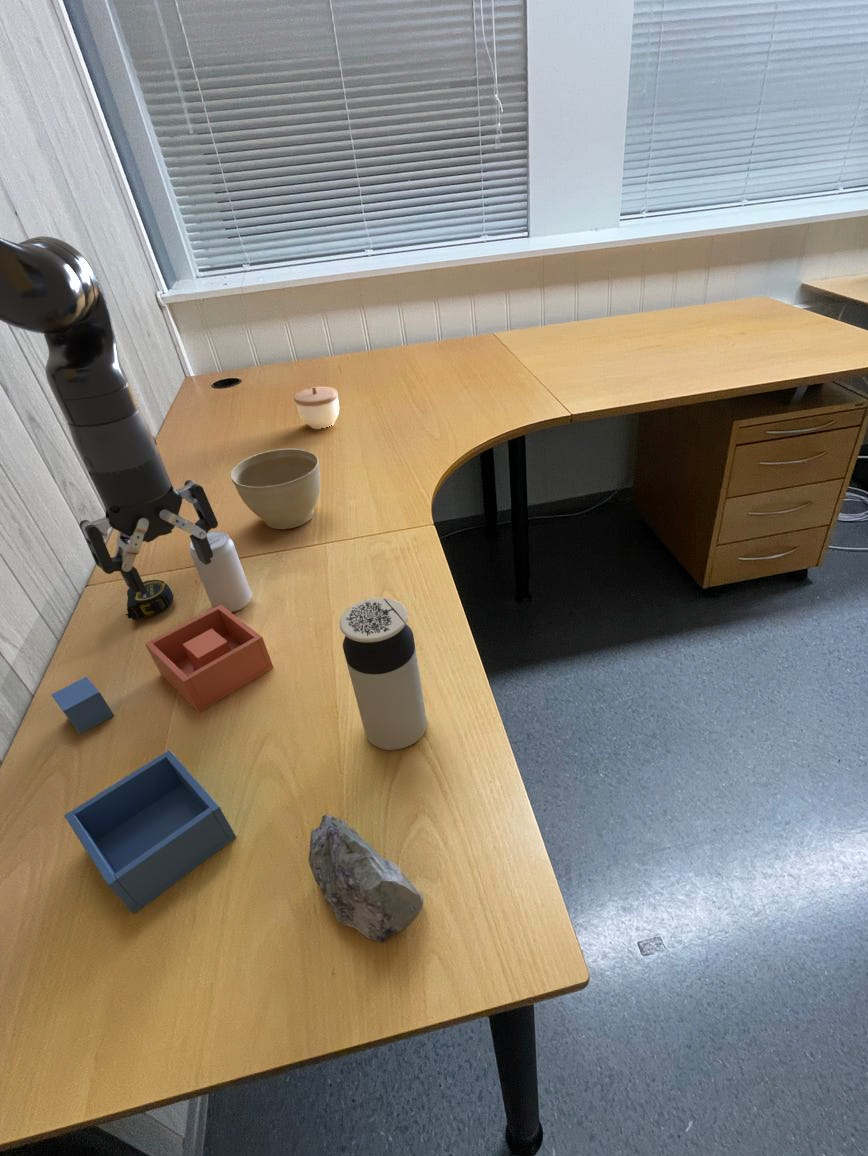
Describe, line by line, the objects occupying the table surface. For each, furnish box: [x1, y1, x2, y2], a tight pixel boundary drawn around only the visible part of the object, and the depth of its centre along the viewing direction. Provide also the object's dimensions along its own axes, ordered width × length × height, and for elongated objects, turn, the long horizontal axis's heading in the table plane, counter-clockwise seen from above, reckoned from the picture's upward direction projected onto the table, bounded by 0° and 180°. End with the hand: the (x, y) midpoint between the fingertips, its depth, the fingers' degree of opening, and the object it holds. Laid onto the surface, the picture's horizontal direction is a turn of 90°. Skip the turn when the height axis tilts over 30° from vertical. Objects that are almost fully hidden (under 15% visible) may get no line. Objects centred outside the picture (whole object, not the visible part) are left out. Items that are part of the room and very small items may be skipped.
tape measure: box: [125, 579, 175, 621], centre depth 101 cm, size 7×7×4 cm
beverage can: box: [189, 531, 253, 613], centre depth 98 cm, size 6×6×12 cm
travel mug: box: [339, 597, 428, 751], centre depth 74 cm, size 8×8×18 cm
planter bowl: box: [230, 448, 321, 530], centre depth 119 cm, size 16×16×11 cm
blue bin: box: [63, 749, 237, 915], centre depth 67 cm, size 12×12×6 cm
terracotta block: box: [182, 629, 231, 670], centre depth 88 cm, size 4×4×4 cm
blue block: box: [50, 676, 115, 735], centre depth 82 cm, size 4×4×4 cm
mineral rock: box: [308, 814, 424, 943], centre depth 60 cm, size 13×11×10 cm
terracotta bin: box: [144, 605, 274, 713], centre depth 88 cm, size 12×12×6 cm
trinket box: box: [293, 386, 340, 430], centre depth 156 cm, size 11×11×9 cm
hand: (174, 576), depth 79 cm, fingers open, 8 cm apart
